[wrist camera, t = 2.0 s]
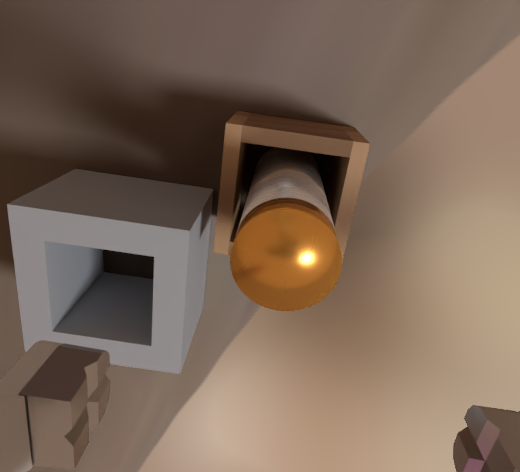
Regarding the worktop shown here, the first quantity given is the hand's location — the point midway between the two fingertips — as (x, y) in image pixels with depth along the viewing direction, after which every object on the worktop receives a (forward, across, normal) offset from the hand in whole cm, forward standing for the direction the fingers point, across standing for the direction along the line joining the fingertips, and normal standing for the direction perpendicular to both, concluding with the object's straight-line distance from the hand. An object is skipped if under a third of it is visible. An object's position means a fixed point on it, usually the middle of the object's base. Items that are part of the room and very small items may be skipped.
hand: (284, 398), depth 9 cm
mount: (+18, 0, -1) cm, 18 cm away
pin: (+18, 0, -1) cm, 18 cm away
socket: (+18, +9, +5) cm, 21 cm away
